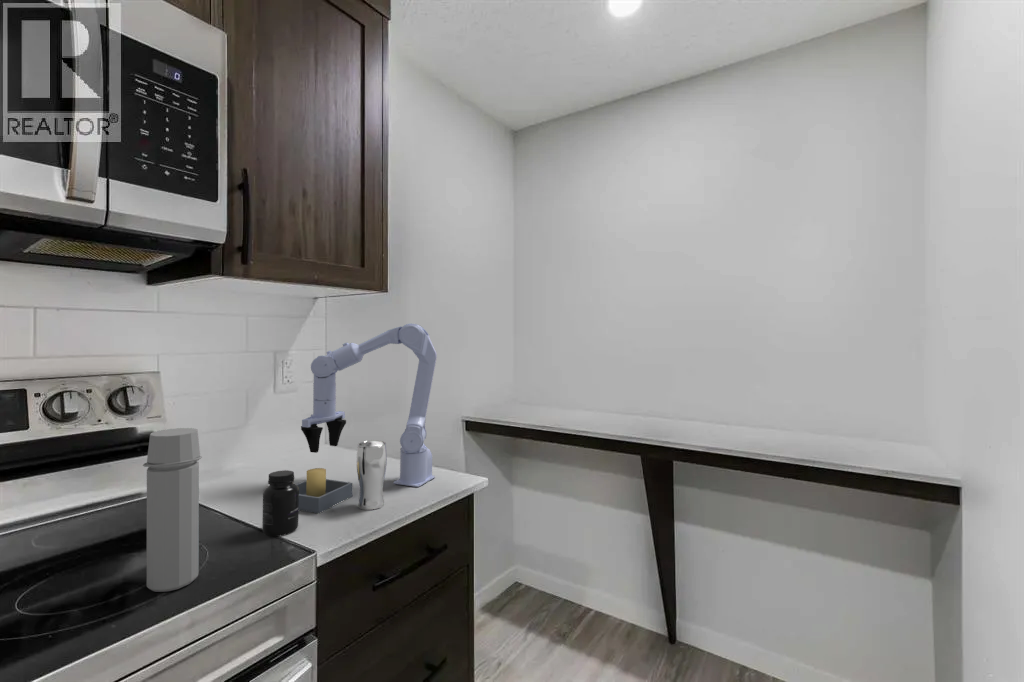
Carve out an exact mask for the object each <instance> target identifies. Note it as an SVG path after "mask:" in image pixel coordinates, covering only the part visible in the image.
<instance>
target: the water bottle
mask: <svg viewBox="0 0 1024 682" xmlns="http://www.w3.org/2000/svg"><path fill="white" fill-rule="evenodd" d="M148 441H149V442H148V449H147V456H146V462H144V463H143V464H142V466H143V467H144V468H147V469H146V588H147V589H148V590H150V591H152V592H154V593H155V592H158V593H159V592H160V593H162V592H164V593H166V592H172V591H175V590H179V589H181V588H185V587H186V586H188V585H190V584H191V583H192V582H193V581H195V580H196V579H197V578H198V576H199V572H200V571H199V570H200V569H199V566H200V565H199V561H200V558H199V554H200V553H199V546H200V545H199V544H200V543H199V541H200V540H199V538H200V537H199V536H200V535H199V534H200V533H199V532H200V531H199V530H200V529H199V527H200V526H199V525H200V522H199V521H200V517H199V515H200V511H199V510H200V507H199V506H200V505H199V504H200V502H199V501H200V491H199V490H200V482H199V481H200V461H199V460H201V459H202V458H203V456H202V455H201V449H200V441H199V432H198V429H197V428H192V427H190V428H189V427H180V428H179V427H178V428H168V429H167V428H166V429H161V430H157V431H153V432H151V433H150V434H149V440H148Z"/></svg>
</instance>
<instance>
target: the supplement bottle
mask: <svg viewBox="0 0 1024 682" xmlns="http://www.w3.org/2000/svg"><path fill="white" fill-rule="evenodd" d="M294 482H295V473H294V471H292V470H290V469H289V470H286V469H285V470H276V471H273V472H270V473H269V474H268V480H267V484H268V486H267V487H265V488H264V489H263V492H262V519H261V520H262V523H261V525H262V533H263V534H264V535H266V536H270V537H278V536H279V537H280V535H281V536H285V535H284V534H286V535H289V534H291V533H293V532H295V531H296V530H297V529H298V527H299V512H300V510H299V488H298V486H297V485H296V484H297V483H294ZM288 533H289V534H288Z"/></svg>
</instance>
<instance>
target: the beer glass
mask: <svg viewBox="0 0 1024 682" xmlns="http://www.w3.org/2000/svg"><path fill="white" fill-rule="evenodd" d="M387 457H388V456H387V443H386V441H384V440H374V439H373V440H364V441H360V442H358V443H357V450H356V473H357V479H358V484H359V497H358V502H357V504H358V505H357V507H358V509H360V508H361V509H360V510H363V509H365V510H364V511H373V509H374V510H378V509H381V508H383V507H384V506H385V499H384V491H383V490H384V481H385V476H386V472H387V471H386V470H387V464H388V462H387V461H388V458H387Z"/></svg>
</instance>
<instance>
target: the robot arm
mask: <svg viewBox="0 0 1024 682" xmlns="http://www.w3.org/2000/svg"><path fill="white" fill-rule="evenodd" d="M390 344H393V345H400V344H402V345H404V346H405V347H406V348H408V349H409V350H411V351H412V353H413V354H414V355H415V356H416V357H417V358H418V364H417V371H416V375H415V381H414V386H413V391H412V392H413V393H412V398H411V403H410V407H409V412H408V413H409V415H408V417H407V418H408V419H407V422H406V426H405V429H404V431H403V433H402V434H401V435H400V439H399V443H400V446H401V447H400V451H399V453H400V455H399V456H400V457H399V459H400V460H399V464H400V465H399V467H400V468H399V479H397V480H394V481H393V484H394V485H401V486H407V487H413V488H419V487H421V486H423V485H425V484H426V483H428V482H429V481H431V480H432V479H435V477H436V476H435V475H433V454H432V453H433V452H431V449H430V448H428V447H427V446H426V444H425V443H424V442H425V439H427V430H426V420H427V414H428V413H427V412H428V406H429V401H430V395H431V390H432V385H433V380H434V373H435V368H436V364H437V362H436V361H437V358H438V354H437V351H436V349H435V347H434V344H433V342H432V340H431V337H430V334H429V333H428V331H427V330H426V329H425V328H424V327H423V326H421V325H420V324H417V323H406V324H404V325H403V326H396V327H394V328H391V329H388V330H386V331H384V332H381V333H380V334H379V333H378V334H377V335H376V336H373V337H372V338H370V339H368V340H366V341H364V342H361V343H360V344H357V343H355V342H350V343H349V342H344V343H343V344H342V346H341V347H339V348H336V349H334V350H328V351H326V355H318V356H317V357H315V358H314V359H313V360H312V362H311V364H310V371H311V373H312V374H313V385H312V386H313V394H312V395H313V401H312V402H313V404H312V405H313V407H312V410H313V411H312V413H313V414H311V415H310V416H309V417H306V418H303V419H301V426H300V430H301V432H302V433H303V435H304V436H305V439H306V441H307V445H308V448H309V452H310V453H316V454H317V453H319V451H320V439H321V435H322V432H323V429H324V427H321V426H319V425H320V424H324V423H326V427H327V430H328V432H327V433H328V442H329V447H330V446H331V447H338V445H339V441H340V437H341V434H342V432H343V429H344V427H345V426H346V424H347V420H346V419H345V417H346V412H345V411H344V410H343V411H341V410H338V411H336V409H337V404H336V403H337V401H336V397H337V396H336V395H337V393H336V392H337V389H336V388H337V387H336V386H337V383H336V382H337V381H336V378H337V377H336V373H338V371H339V372H341V371H343V370H345V369H347V368H350V367H352V366H354V365H356V364H359V363H360V362H361V361H362V360H363V357H364V355H366V354H369V353H371V352H373V351H376V350H377V349H381V348H383V347H385V346H388V345H390Z"/></svg>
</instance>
